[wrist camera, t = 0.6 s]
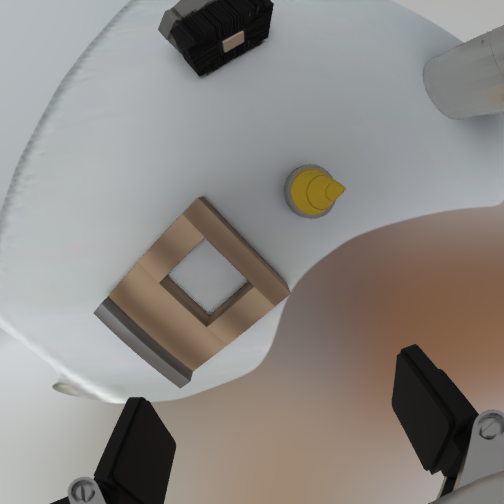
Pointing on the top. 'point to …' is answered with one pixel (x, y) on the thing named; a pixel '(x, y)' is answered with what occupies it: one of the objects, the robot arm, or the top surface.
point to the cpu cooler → (215, 30)
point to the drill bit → (311, 191)
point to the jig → (180, 304)
